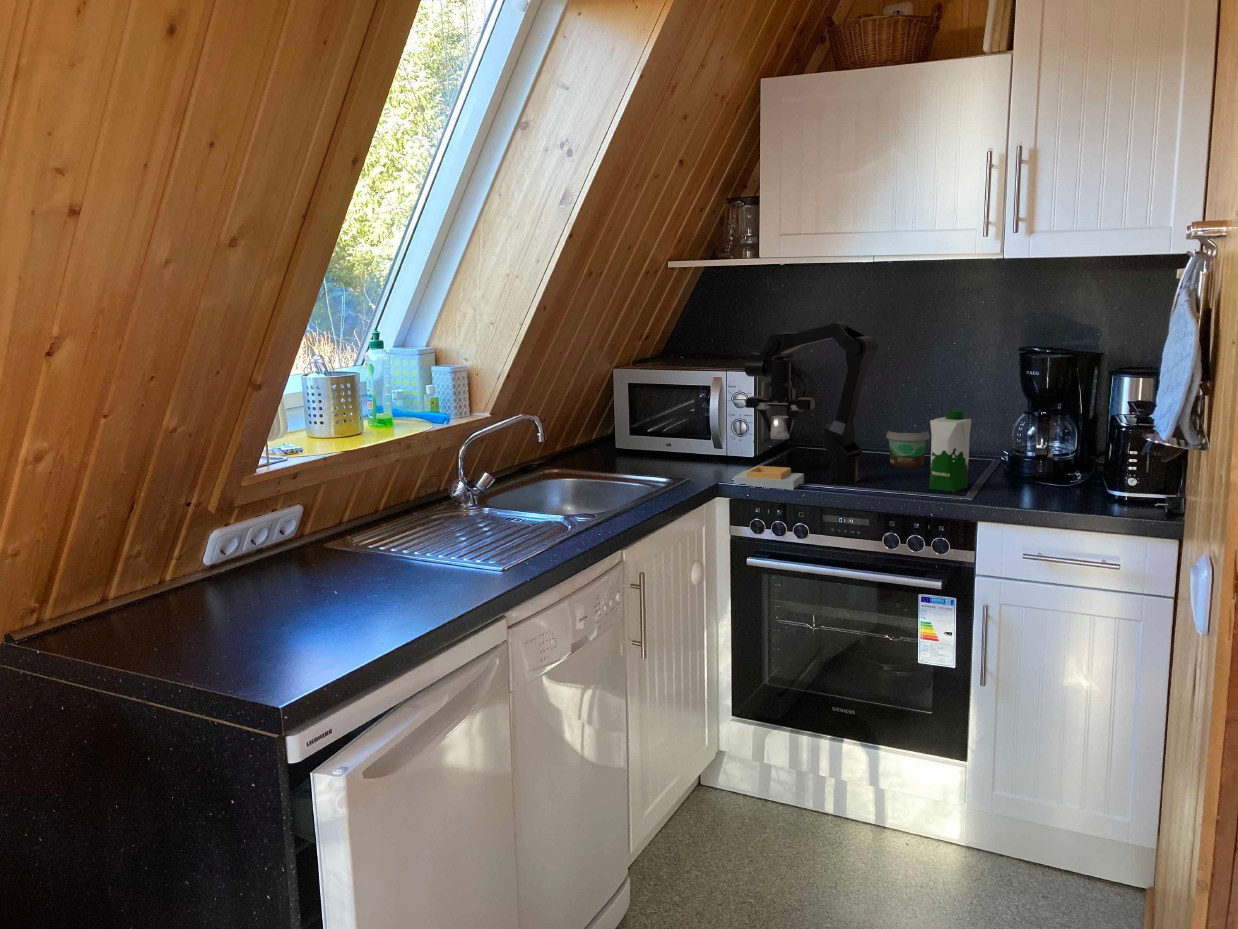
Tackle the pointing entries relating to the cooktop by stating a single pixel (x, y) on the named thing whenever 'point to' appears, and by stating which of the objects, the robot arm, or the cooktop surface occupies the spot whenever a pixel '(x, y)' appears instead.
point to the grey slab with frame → (770, 477)
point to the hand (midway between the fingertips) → (779, 433)
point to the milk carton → (950, 452)
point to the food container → (907, 448)
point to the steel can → (779, 427)
